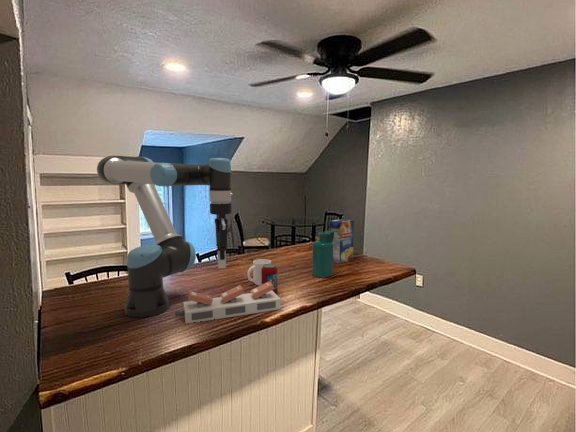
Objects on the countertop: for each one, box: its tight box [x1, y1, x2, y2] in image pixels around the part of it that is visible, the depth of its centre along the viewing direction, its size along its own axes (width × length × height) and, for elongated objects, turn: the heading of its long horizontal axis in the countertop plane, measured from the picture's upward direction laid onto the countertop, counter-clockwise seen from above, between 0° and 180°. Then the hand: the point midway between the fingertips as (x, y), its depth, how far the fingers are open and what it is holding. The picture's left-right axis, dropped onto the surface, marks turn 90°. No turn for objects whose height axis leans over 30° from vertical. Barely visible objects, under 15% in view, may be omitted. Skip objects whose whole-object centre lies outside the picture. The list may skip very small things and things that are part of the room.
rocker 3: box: [250, 282, 274, 299], centre depth 123 cm, size 8×5×2 cm, turn 111°
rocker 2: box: [220, 284, 245, 303], centre depth 119 cm, size 8×5×2 cm, turn 111°
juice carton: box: [329, 218, 355, 265], centre depth 189 cm, size 12×8×24 cm, turn 130°
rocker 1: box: [187, 290, 213, 305], centre depth 115 cm, size 8×5×2 cm, turn 111°
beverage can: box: [261, 263, 278, 294], centre depth 138 cm, size 7×7×12 cm
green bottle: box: [311, 230, 334, 279], centre depth 162 cm, size 10×8×22 cm
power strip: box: [174, 291, 282, 325], centre depth 119 cm, size 37×10×5 cm, turn 111°
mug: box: [246, 258, 272, 286], centre depth 150 cm, size 12×8×10 cm
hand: (221, 267), depth 117 cm, fingers closed
